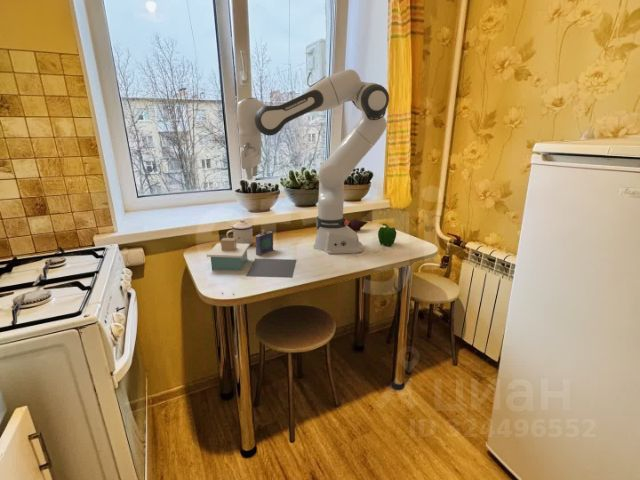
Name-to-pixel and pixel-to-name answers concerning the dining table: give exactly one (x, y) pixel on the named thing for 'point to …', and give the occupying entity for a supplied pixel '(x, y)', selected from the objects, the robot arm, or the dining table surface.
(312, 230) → the dining table surface
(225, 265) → the teal open box
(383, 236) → the bell pepper
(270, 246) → the flask
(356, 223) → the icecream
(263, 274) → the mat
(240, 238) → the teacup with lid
